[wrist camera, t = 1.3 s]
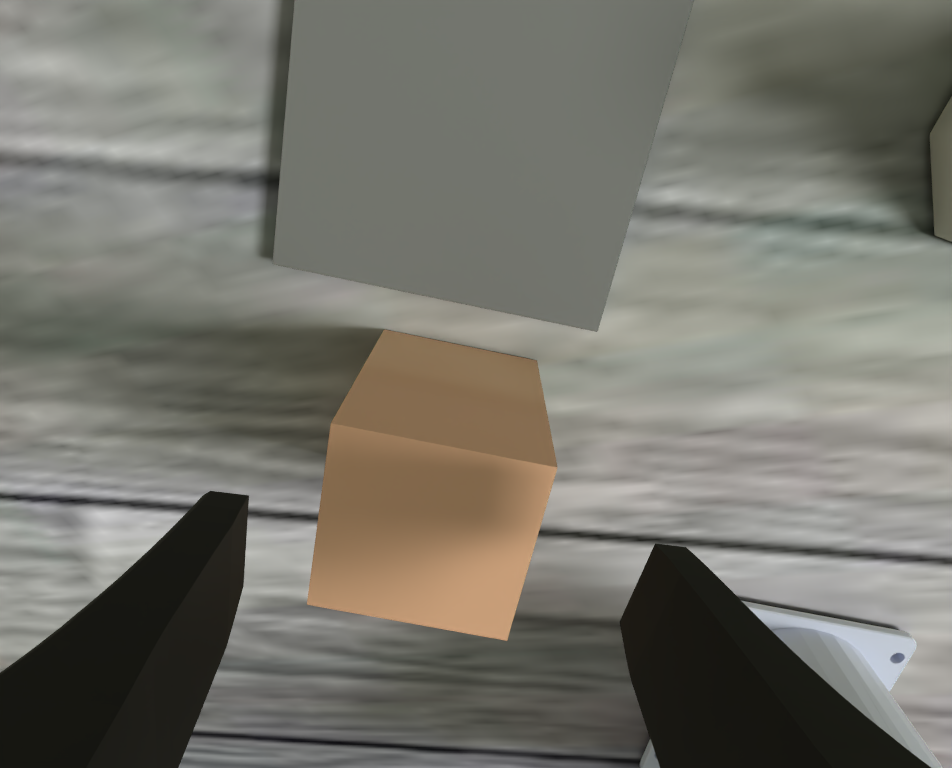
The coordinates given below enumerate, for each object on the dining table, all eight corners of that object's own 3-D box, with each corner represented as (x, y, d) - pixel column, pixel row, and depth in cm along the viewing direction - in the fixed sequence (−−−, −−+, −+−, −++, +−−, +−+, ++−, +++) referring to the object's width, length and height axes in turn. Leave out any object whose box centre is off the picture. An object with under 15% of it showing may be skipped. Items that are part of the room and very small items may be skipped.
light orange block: (503, 491, 22) (507, 640, 15) (362, 464, 22) (307, 604, 15) (536, 360, 20) (557, 467, 14) (384, 329, 20) (330, 423, 13)
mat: (594, 326, 20) (597, 331, 19) (279, 260, 19) (272, 264, 19) (700, -41, 16) (707, -48, 15) (313, -135, 15) (306, -145, 15)
